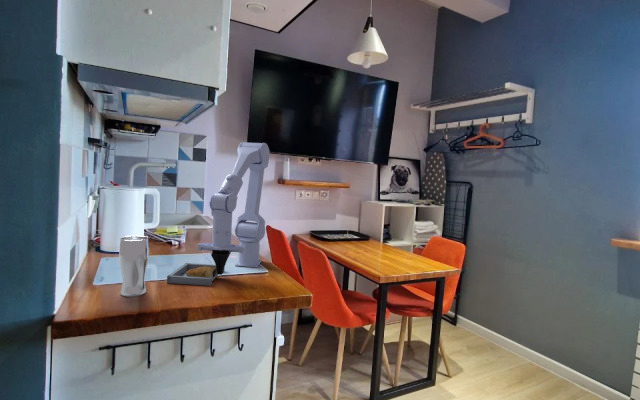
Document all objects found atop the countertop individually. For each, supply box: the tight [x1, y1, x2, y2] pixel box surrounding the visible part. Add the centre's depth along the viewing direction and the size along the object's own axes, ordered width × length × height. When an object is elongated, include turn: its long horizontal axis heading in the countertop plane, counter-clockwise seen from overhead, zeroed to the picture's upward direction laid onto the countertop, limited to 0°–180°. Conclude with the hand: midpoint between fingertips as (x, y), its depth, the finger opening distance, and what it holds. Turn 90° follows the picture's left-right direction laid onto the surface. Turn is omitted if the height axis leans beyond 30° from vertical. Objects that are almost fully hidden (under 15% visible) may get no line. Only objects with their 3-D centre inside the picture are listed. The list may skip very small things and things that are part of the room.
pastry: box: [185, 267, 219, 282], centre depth 113 cm, size 9×7×4 cm
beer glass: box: [118, 235, 150, 298], centre depth 97 cm, size 7×7×15 cm
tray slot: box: [166, 262, 225, 287], centre depth 115 cm, size 15×13×2 cm
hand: (220, 273), depth 115 cm, fingers closed
